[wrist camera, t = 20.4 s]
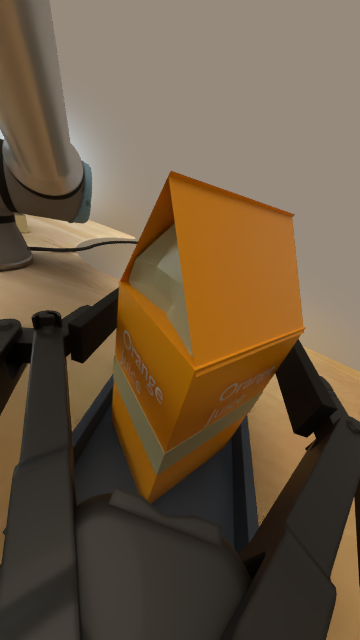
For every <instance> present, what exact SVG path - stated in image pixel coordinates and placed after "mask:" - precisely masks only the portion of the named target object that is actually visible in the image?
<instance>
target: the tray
mask: <svg viewBox="0 0 360 640" xmlns="http://www.w3.org/2000/svg"><path fill="white" fill-rule="evenodd" d="M113 385H114V379H113V375H112V376H111V378H110V379H109V381H108V382H107V384H106V385H105V386H104V388H103V389H102V391H101V392H100V394H99V395H98V396H97V398H96V399H95V401H94V402H93V404H92V405H91V406H90V408H89V409H88V411H87V412H86V414H85V415H84V416H83V418H82V419H81V421H80V422H79V424H78V425H77V427H76V428H75V429H74V431H73V432H72V444H73V457H74V471H75V482H76V493H77V505H78V504H80V503H81V502H83V501H85V500H87V499H89V498H91V497H93V496H97V495H100V494H106V493H113V491H114V488H115V486H117V487H119V488H122V489H125V490H127V491H130V492H133V493H135V494H138V495H139V493H138V490H137V487H136V485H135V482H134V479H133V477H132V474H131V471H130V469H129V466H128V463H127V460H126V458H125V455H124V452H123V450H122V447H121V444H120V442H119V439H118V436H117V434H116V431H115V428H114V425H113V423H112V403H113ZM152 505H153V506H154V507H155V508H157V509H158V510H159V511H160V512H162V513H163V514H164V515H168V516H173V515H195V516H197V517H200V518H203V519H205V520H208V521H211V522H214V523H216V524H219V525H221V535H222V536H223V537H224V538H225V539H226V540H227V541H228V542H229V543H230V544H231V546H232V547H233V548H234V549H235V551H236V552H237V554H238V555H239V554H240V552H241V551H242V550H243V549H244V548H245V547H246V546H247V545H248V543H249V542H250V541H251V539H252V538H253V536H254V535H255V533H256V532H257V530H258V528H259V526H258V516H257V506H256V496H255V487H254V477H253V467H252V458H251V448H250V438H249V429H248V419H247V415H246V417H245V418H244V419H243V421H242V422H241V424H240V425H239V427H238V428H237V430H236V431H235V433H234V434H233V436H232V437H231V439H230V440H229V442H228V443H227V445H226V446H225V447H224V448H223V449H222V450H220V451H219V452H218V453H217V454H215V455H214V456H213V457H211V458H210V459H209V460H207V461H206V462H205V463H204V464H202V465H201V466H200V467H198V468H197V469H196V470H194V471H193V472H192V473H191V474H189V475H188V476H187V477H185V478H184V479H183V480H182V481H180V482H179V483H178V484H176V485H175V486H174V487H172V488H171V489H170V490H169V491H167V492H166V493H165V494H163V495H162V496H161V497H159V498H158V499H157V500H156V501H154V502H153V503H152ZM5 533H6V528H5V530H4V531H3V534H4V535H5Z"/></svg>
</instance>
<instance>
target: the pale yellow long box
mask: <svg viewBox="0 0 360 640" xmlns="http://www.w3.org/2000/svg"><path fill="white" fill-rule="evenodd" d="M14 215H15V220H16V225H17V227H18V229H19V230H20V232H21V233H29V232H28V226H27V221H26V216H25V215H23V214H22V213H21V214H20V213H15V212H14Z"/></svg>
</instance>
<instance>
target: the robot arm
mask: <svg viewBox="0 0 360 640" xmlns="http://www.w3.org/2000/svg"><path fill="white" fill-rule="evenodd" d="M0 130H1V132H2V134H3V136H4V137H5V139H4V140H2V139H0V271H3V270H11V269H17V268H21V267H24V266H27V265H29V264H30V263H32V261H33V257H32V253H31V251H51V252H69V251H82V250H87V249H91V248H93V247H96V246H100V245H105V244H115V243H132V244H137V243H138V242H135V241H109V242H102V243H97V244H93V245H90V246H87V247H83V248H42V247H28V246H27V244H26V242H25V240H24V238H23V236H22V234H21V232H20V230H19V229H18V227H17V225H16V220H15V215H14V212H15V213H20V214H21V213H22V214H27V215H33V216H39V217H45V218H51V219H57V220H62V221H67V222H69V223H73V222H75V223H85V222H87V221H88V219H89V215H90V208H91V204H90V203H91V195H92V173H91V168H90V166H89V165H88V164H86V163H84V162H83V161H81V158H80V156H79V154H78V152H77V151H76V149H75V148H74V147H73V145H72V144H71V143H70V137H69V132H68V124H67V117H66V111H65V103H64V96H63V90H62V83H61V77H60V69H59V63H58V55H57V49H56V42H55V35H54V29H53V21H52V14H51V8H50V1H49V0H0ZM118 296H119V288H117V289H116V290H114V291H113V292H111V293H110V294H109V295H107V296H106V297H104V298H103V299H101V300H100V301H99V302H97V303H96V304H94V305H93V306H89V305H86V306H82V307H80V308H78V309H77V310H75V311H74V312H72V313H71V314H69V315H67V316H66V317H64V318H63V319H61V315H60V313H58V312H56V311H49V310H46V311H41V312H37V313H35V314H34V315H33V316H32V322H33V327H34V328H24V327H22V326H21V323H20V321H18V320H16V319H1V320H0V415H1V413H2V411H3V409H4V407H5V405H6V404H7V402H8V400H9V398H10V396H11V394H12V392H13V390H14V388H15V386H16V384H17V383H18V381H19V379H20V377H21V375H22V373H23V371H24V369H25V367H26V365H27V363H31V364H30V373H29V382H28V391H27V400H26V410H25V419H24V428H23V437H22V446H21V455H20V461H19V464H18V465H17V466H16V467H15V469H14V473H13V478H12V486H11V494H10V501H9V509H8V517H7V525H6V533H5V540H4V548H3V556H2V564H1V565H0V640H326V637H327V633H328V629H329V625H330V621H331V618H332V614H333V610H334V606H335V602H336V595H337V594H336V587H335V586H334V585H333V583H332V582H331V579H330V576H331V571H332V568H333V565H334V561H335V558H336V555H337V551H338V548H339V545H340V541H341V538H342V535H343V531H344V528H345V525H346V522H347V518H348V515H349V512H350V508H351V505H352V502H353V498H354V499H355V516H356V533H357V551H358V568H359V585H360V422H359V421H357V420H356V419H354V418H353V417H350V416H348V414H347V412H346V411H345V409H344V407H343V406H342V404H341V402H340V401H339V399H338V398H337V396H336V394H335V392H333V389H332V387H331V386H330V384H329V383H328V382H327V381H326V380H325V379H324V378H323V377H321V376H319V374H318V373H317V371H316V369H315V367H314V366H313V364H312V362H311V360H310V359H309V357H308V355H307V353H306V351H305V350H304V348H303V346H302V344H301V343H300V341H299V339H298V340H297V341H296V343H295V344H294V346H293V347H292V349H291V350H290V352H289V353H288V355H287V356H286V357H285V359H284V360H283V362H282V363H281V365H280V366H279V368H278V369H277V371H276V372H275V373H276V376H277V380H278V383H279V386H280V390H281V393H282V396H283V399H284V403H285V406H286V409H287V412H288V416H289V419H290V422H291V426H292V429H293V432H294V433H295V434H298V435H301V436H304V437H308V436H310V435H311V434H312V433H313V432H314V434H315V437H316V439H315V440H314V441H313V442H312V443H311V444H310V445H309V446H308V447H306V448H305V449H306V450H307V452H306V453H305V455H304V456H303V458H302V460H301V461H300V463H299V464H298V466H297V468H296V469H295V471H294V472H293V474H292V476H291V477H290V479H289V480H288V482H287V484H286V485H285V487H284V488H283V490H282V492H281V493H280V495H279V496H278V498H277V500H276V501H275V503H274V504H273V506H272V508H271V509H270V511H269V512H268V514H267V516H266V517H265V519H264V520H263V522H262V524H261V525H260V527H259V528H258V530H257V532H256V533H255V535H254V536H253V538H252V539H251V541H250V542H249V543H248V545H247V546H246V547H245V548H244V549H243V550H242V551H241V552H240V554H239V555H238V554H237V552H236V551H235V549H234V548H233V547H232V546H231V544H230V543H229V542H228V541H227V540H226V539H225V538H224V537H223V536H222V535H221V525H219V524H216V523H214V522H211V521H208V520H205V519H203V518H200V517H197V516H195V515H173V516H168V515H164V514H163V513H162V512H160V511H159V510H158V509H157V508H155V507H154V506H153V505H152V504H151V503H149V502H148V501H147V500H146V499H144V498H143V497H142V496H141V495H138V494H135V493H133V492H130V491H127V490H125V489H122V488H119V487H117V486H115V488H114V491H113V493H106V494H100V495H97V496H93V497H91V498H89V499H87V500H85V501H83V502H81V503H80V504H78V505H77V493H76V482H75V471H74V457H73V444H72V430H71V416H70V402H69V388H68V375H67V361H66V357H67V356H68V355H69V354H70V353H71V360H74V361H77V362H80V363H84V362H85V361H86V360H87V359H88V358H89V357H90V355H91V354H92V353H93V352H94V351H95V350H96V349H97V348H98V347H99V346H100V345H101V344H102V343H103V342H104V341H105V340H106V339H107V337H108V336H109V335H110V334H111V333H112V332H113V331H114V330H115V329H116V328H117V314H118Z"/></svg>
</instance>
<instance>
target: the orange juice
mask: <svg viewBox="0 0 360 640" xmlns="http://www.w3.org/2000/svg"><path fill="white" fill-rule="evenodd" d="M293 216H294V214H291V213H289V212H286V211H283V210H280V209H277V208H275V207H272V206H269V205H266V204H263V203H260V202H258V201H255V200H252V199H249V198H246V197H244V196H241V195H238V194H235V193H232V192H229V191H227V190H224V189H221V188H218V187H215V186H212V185H210V184H207V183H204V182H201V181H198V180H195V179H192V178H190V177H187V176H184V175H181V174H179V173H176V172H173V171H171V172H170V174H169V176H168V178H167V180H166V182H165V185H164V187H163V189H162V191H161V193H160V196H159V198H158V200H157V202H156V205H155V207H154V209H153V211H152V213H151V215H150V217H149V220H148V222H147V224H146V226H145V228H144V230H143V233H142V235H141V237H140V239H139V241H138V243H137V246H136V248H135V250H134V252H133V254H132V257H131V259H130V261H129V263H128V265H127V268H126V270H125V272H124V274H123V276H122V278H121V280H120V281H119V296H118V314H117V332H116V350H115V356H114V373H113V379H114V385H113V403H112V423H113V425H114V428H115V431H116V434H117V436H118V439H119V442H120V444H121V447H122V450H123V452H124V455H125V458H126V460H127V463H128V466H129V469H130V471H131V474H132V477H133V479H134V482H135V485H136V487H137V490H138V493H139V495H141V496H142V497H143V498H144V499H146V500H147V501H148V502H149V503H151V504H152V503H153V502H154V501H156V500H157V499H158V498H159V497H161V496H162V495H163V494H165V493H166V492H167V491H169V490H170V489H171V488H172V487H174V486H175V485H176V484H178V483H179V482H180V481H182V480H183V479H184V478H185V477H187V476H188V475H189V474H191V473H192V472H193V471H194V470H196V469H197V468H198V467H200V466H201V465H202V464H204V463H205V462H206V461H207V460H209V459H210V458H211V457H213V456H214V455H215V454H217V453H218V452H219V451H220V450H222V449H223V448H224V447H225V446H226V445H227V443H228V442H229V440H230V439H231V437H232V436H233V434H234V433H235V431H236V430H237V428H238V427H239V425H240V424H241V422H242V421H243V419H244V418H245V417H246V415H247V414H248V412H250V410H251V409H252V407H253V406H254V404H255V403H256V401H257V400H258V399H259V397H260V396H261V394H262V393H263V390H264V388H265V387H266V386H267V384H268V383H269V381H270V380H271V378H272V377H273V375H274V374H275V372H276V371H277V369H278V368H279V366H280V365H281V363H282V362H283V360H284V359H285V357H286V356H287V355H288V353H289V352H290V350H291V349H292V347H293V346H294V344H295V343H296V341H297V340H298V338H299V337H300V335H301V334H302V333H304V329H305V327H303V319H302V310H301V299H300V290H299V280H298V270H297V260H296V250H295V240H294V230H293V220H292V217H293Z"/></svg>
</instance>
